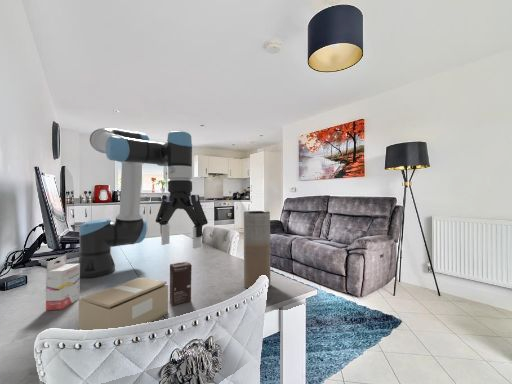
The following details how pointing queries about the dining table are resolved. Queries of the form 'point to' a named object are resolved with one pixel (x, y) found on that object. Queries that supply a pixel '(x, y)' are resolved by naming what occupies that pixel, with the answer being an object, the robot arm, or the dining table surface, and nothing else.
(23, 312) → the dining table surface
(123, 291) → the lid
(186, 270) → the box
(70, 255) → the desk tidy frame
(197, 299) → the dining table surface
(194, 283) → the dining table surface
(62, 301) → the ink cartridge box
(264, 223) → the burlap textured cylinder
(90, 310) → the carton
